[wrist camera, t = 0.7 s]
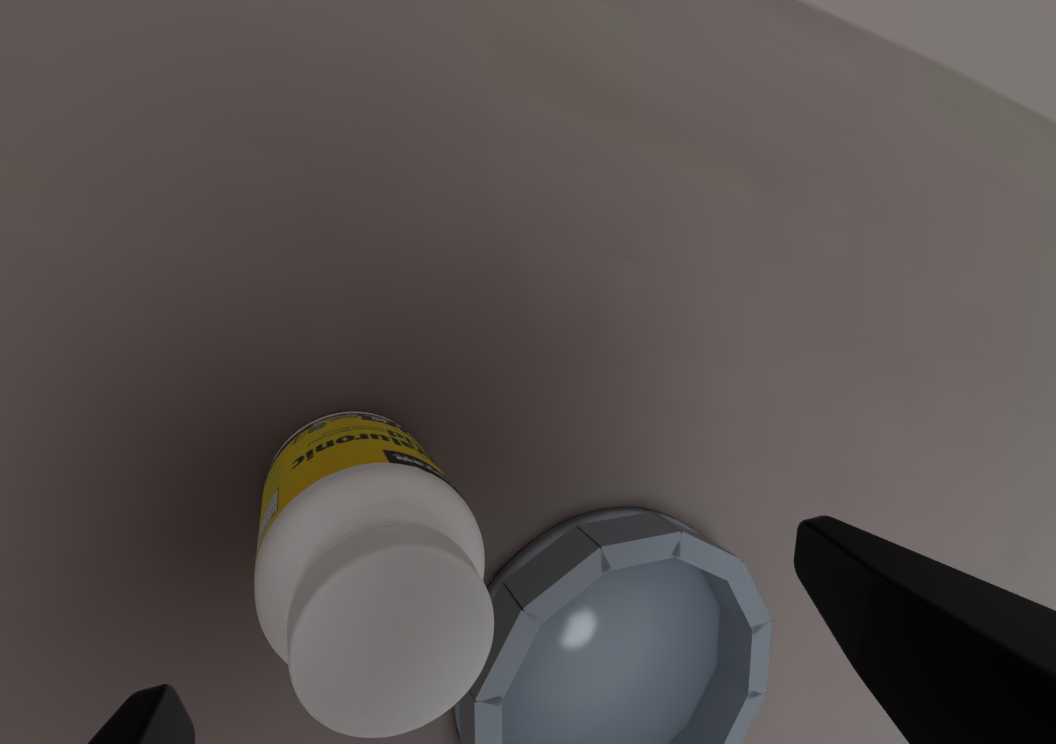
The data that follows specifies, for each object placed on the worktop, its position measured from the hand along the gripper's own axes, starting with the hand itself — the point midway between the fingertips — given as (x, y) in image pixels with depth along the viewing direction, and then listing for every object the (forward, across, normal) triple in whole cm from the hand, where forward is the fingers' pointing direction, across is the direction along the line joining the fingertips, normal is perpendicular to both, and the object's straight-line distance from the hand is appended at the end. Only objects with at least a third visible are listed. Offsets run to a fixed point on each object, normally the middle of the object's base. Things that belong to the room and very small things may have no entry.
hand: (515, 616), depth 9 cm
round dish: (+11, -4, +16) cm, 20 cm away
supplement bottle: (+12, +4, +5) cm, 14 cm away
